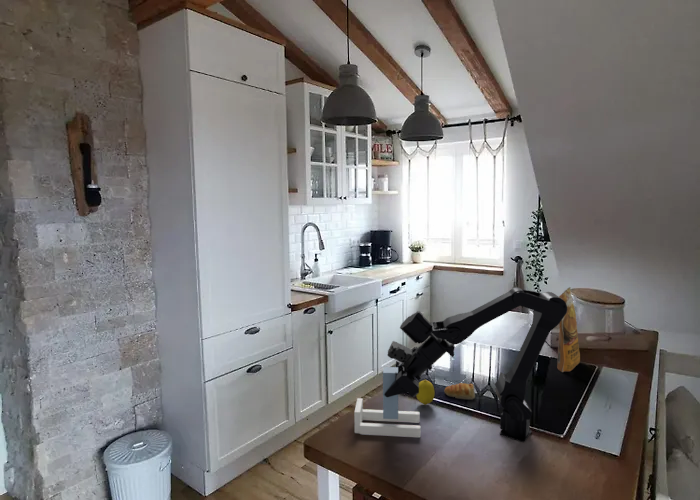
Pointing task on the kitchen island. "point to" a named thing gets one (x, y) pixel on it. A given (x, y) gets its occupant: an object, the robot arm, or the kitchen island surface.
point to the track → (385, 429)
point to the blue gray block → (391, 402)
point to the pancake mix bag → (568, 337)
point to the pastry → (460, 391)
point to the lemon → (425, 392)
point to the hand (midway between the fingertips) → (385, 392)
